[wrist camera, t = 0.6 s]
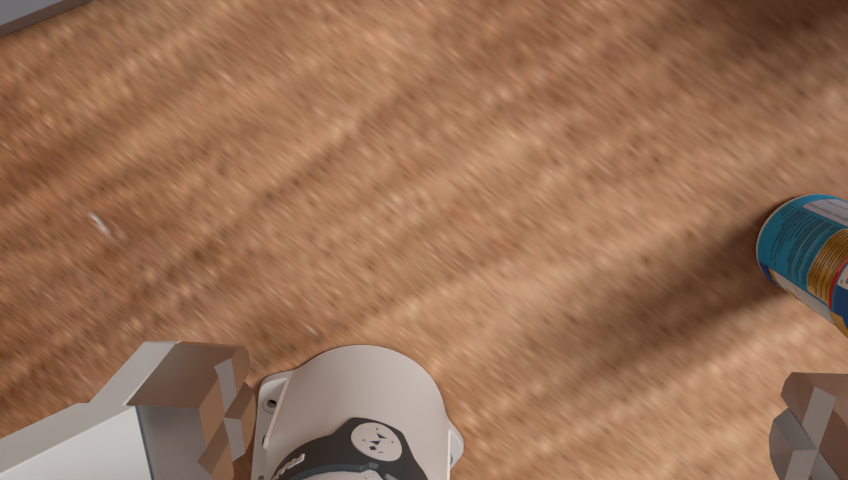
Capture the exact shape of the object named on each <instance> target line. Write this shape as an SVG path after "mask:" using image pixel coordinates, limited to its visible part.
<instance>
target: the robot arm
mask: <svg viewBox="0 0 848 480" xmlns="http://www.w3.org/2000/svg"><path fill="white" fill-rule="evenodd" d="M250 370H251V364H250V359H249V353H248V350H247V349H246V348H245V347H244V346H243V345H229V344H214V343H199V342H185V341H183V342H180V341H167V340H150V341H146V342H144V343H143V344H142V345H141V346H140V347H139V348H138V349H137V350H136V351H135V353H134V354H133V355H132V356H131V357H130V358H129V359H128V360H127V361H126V362H125V364H124V365H123V366H122V367H121V368H120V369H119V370H118V371H117V372H116V373H115V375H114V376H113V377H112V378H111V379H110V380H109V381H108V382H107V383H106V384H105V386H104V387H103V388H102V389H101V390H100V391H99V392H98V393H97V394H96V395H95V397H94V398H93V399H92V400H91V401H90V402H89V403H77V404H75V405H73V406H70V407H68V408H66V409H64V410H62V411H60V412H57V413H55V414H53V415H51V416H49V417H47V418H45V419H42V420H40V421H38V422H36V423H34V424H32V425H29V426H27V427H25V428H23V429H21V430H19V431H17V432H14V433H12V434H10V435H8V436H6V437H4V438H1V439H0V480H232V479H233V477H234V470H233V463H232V462H233V461H235V460H236V459H237V458H239V457H240V456H242V455H243V454H245V452H246V450H247V448H248V446H249V443H250V441H251V439H252V434H253V430H254V425H255V420H256V429H255V440H254V450H253V461H252V472H251V480H449V474H450V470H451V468H452V467H453V466H454V464H455V463H456V462H457V460H458V459H459V458H460V456H461V455H462V453H463V448H464V441H463V438H462V436H461V434H460V433H459V432H458V430H457V429H456V428H455V427H454V425H453V424H452V423H451V422H450V421H449V419H448V417H447V415H446V412H445V408H444V404H443V400H442V397H441V394H440V392H439V390H438V388H437V386H436V384H435V382H434V381H433V379H432V378H431V377H430V376H429V374H428V373H427V372H426V371H425V370H424V369H423V368H422V367H421V366H419V365H418V364H417V363H416V362H414V361H413V360H411V359H410V358H408V357H406V356H404V355H402V354H400V353H398V352H396V351H393V350H390V349H387V348H383V347H378V346H371V345H351V346H344V347H339V348H335V349H332V350H329V351H327V352H324V353H322V354H320V355H318V356H316V357H315V358H313V359H312V360H310V361H309V362H307V363H306V364H304V365H303V366H301V367H299V368H297V369H295V370H291V371H286V372H281V373H277V374H273V375H270V376H268V377H266V378H265V379H264V380H263V381H262V383H261V386H260V390H259V397H258V408H257V419H256V402H255V394H254V392H253V391H252V389H251V388H250V387H249V386H248V385H247V384H246V383H245V382H244V381H245V379H246V378H247V376H248V374H249V372H250ZM781 397H782V399H783V400H784V402H785V404H786V406H787V407H788V408H787V409H786V410H785V411H783V412H782V413H781V414H780V415H779V416H777V417H776V418H775V419H774V420H773V423H772V427H771V431H770V436H769V448H770V458H771V461H772V464H773V467H774V470H775V472H776V474H777V476H778V478H779V479H780V480H848V374H832V373H801V372H792V373H791V374H790V375H789V377H788V378H787V379H786V380H785V383H784V386H783V389H782V392H781ZM269 400H274V401H276V403H275V404H273V403H271V402H270V401H269Z"/></svg>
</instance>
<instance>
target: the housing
mask: <svg viewBox="0 0 848 480" xmlns="http://www.w3.org/2000/svg"><path fill="white" fill-rule="evenodd" d="M90 1H92V0H0V35H7V34H10V33H12V32H15V31H17V30H20V29H22V28H25V27H27V26H30V25H32V24H35V23H37V22H40V21H42V20H45V19H47V18H50V17H52V16H55V15H57V14H60V13H62V12H65V11H67V10H70V9H72V8H75V7H77V6H80V5H82V4H85V3H87V2H90Z"/></svg>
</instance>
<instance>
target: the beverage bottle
mask: <svg viewBox="0 0 848 480" xmlns="http://www.w3.org/2000/svg"><path fill="white" fill-rule="evenodd" d="M756 257H757V262H758V265H759V267H760V269H761V271H762V272H763V274H764V275H765V276H766V277H767V278H768V279H769V280H770V281H771V282H772V283H774V284H775V285H777V286H778V287H780V288H781V289H783V290H785V291H786V292H788V293H789V294H791V295H792V296H794V297H795V298H796V299H798V300H799V301H801V302H802V303H804V304H805V305H806V306H808V307H809V308H811V309H812V310H814V311H815V312H816V313H818V314H819V315H821V316H822V317H823V318H825V319H826V320H828V321H829V322H830V323H832V324H833V325H835V326H836V327H837V328H838V329H839V330H840V331H841V332H842V333H843V334H844V335H845V336H846V337H847V338H848V202H847V201H845V200H842V199H840V198H837V197H834V196H831V195H826V194H808V195H803V196H800V197H797V198H794V199H792V200H790V201H788V202H786V203H784V204H783V205H781V206H780V207H779V208H777V209H776V210H775V211H774V212H773V213H772V214H771V215H770V216H769V217H768V219H767V220H766V221H765V223H764V224H763V226H762V228H761V230H760V232H759V235H758V238H757V243H756Z"/></svg>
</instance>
